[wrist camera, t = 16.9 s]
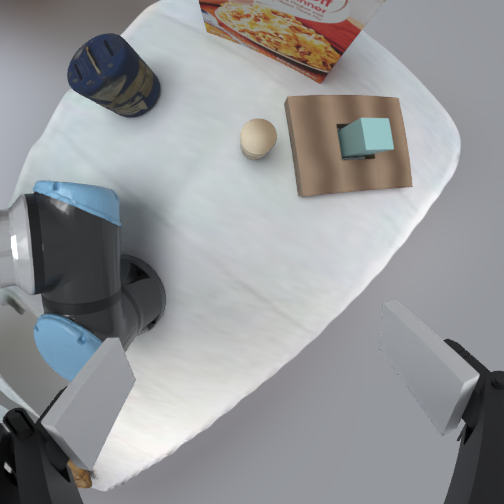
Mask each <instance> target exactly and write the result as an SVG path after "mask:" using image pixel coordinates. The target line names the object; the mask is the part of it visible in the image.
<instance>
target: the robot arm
mask: <svg viewBox="0 0 504 504" xmlns="http://www.w3.org/2000/svg"><path fill="white" fill-rule="evenodd" d="M33 191H34V193H33V194H21V195H20V196H19V197H18V198H17V200H16V201H15V202H14V203H13V205H12V206H11V207H10V208H9V209H4V210H0V288H4V287H9V286H14V285H16V286H19V287H20V288H21V289H23V290H24V291H25V292H26V293H28V294H29V295H36V294H40V293H41V296H42V302H43V307H44V314H43V315H41V316H40V317H39V318H38V320H37V322H36V325H35V326H34V339H35V343H36V346H37V348H38V350H39V352H40V354H41V355H42V357H43V358H44V360H45V361H46V362H47V363H48V365H49V366H51V368H53V369H54V370H55V371H56V372H57V373H58V374H59V375H61V376H62V377H63V378H65V379H67V380H68V381H70V382H71V383H70V384H69V385H68V386H66V387H65V388H64V389H63V390H61V391H60V392H59V393H58V394H57V395H56V397H55V398H54V400H53V401H52V402H51V403H50V406H48V407H47V409H46V410H45V411H44V412H43V414H42V415H41V416H40V418H39V419H38V420H37V422H36V423H34V422H33V421H32V419H31V418H30V416H29V415H28V413H27V412H26V410H24V409H23V408H14V409H12V410H10V411H9V412H7V413H6V415H5V416H4V418H3V422H4V424H5V425H6V427H7V428H8V429H9V431H10V432H8V431H7V430H6V429H5V427H4V426H3V425H2V424H1V423H0V504H83V502H82V499H81V497H80V494H79V491H78V489H77V486H76V483H75V480H74V477H73V474H72V471H71V468H70V467H69V465H68V464H67V463H68V461H69V459H70V460H71V461H72V462H73V463H74V465H75V466H76V467H77V468H81V469H84V470H87V471H92V469H93V466H94V464H95V462H96V460H97V458H98V456H99V453H100V451H101V449H102V447H103V445H104V443H105V441H106V439H107V437H108V435H109V433H110V430H111V428H112V426H113V424H114V422H115V420H116V418H117V416H118V414H119V412H120V410H121V408H122V406H123V404H124V402H125V400H126V398H127V396H128V394H129V393H130V391H131V389H132V387H133V385H134V383H135V381H136V379H135V377H134V374H133V372H132V370H131V367H130V365H129V362H128V360H127V357H126V355H125V352H126V350H127V349H128V347H129V346H130V344H131V343H132V342H133V340H134V338H135V337H136V336H138V335H140V334H143V333H145V332H147V331H149V330H150V329H152V328H153V327H154V326H155V325H156V324H157V322H158V321H159V319H160V318H161V316H162V314H163V312H164V308H165V291H164V287H163V285H162V282H161V280H160V278H159V277H158V275H157V274H156V272H155V271H154V270H153V269H152V268H151V267H150V266H149V265H148V264H146V263H145V262H144V261H142V260H140V259H138V258H135V257H132V256H127V255H120V227H121V222H120V202H119V197H118V195H117V194H116V193H115V192H114V191H113V190H112V189H109V188H105V187H99V186H93V185H86V184H78V183H69V182H55V181H37V182H36V183H35V186H34V188H33ZM379 350H380V351H381V352H382V354H383V355H384V357H385V358H386V359H387V361H388V362H389V363H390V365H391V366H392V367H393V368H394V370H395V371H396V372H397V374H398V375H399V377H400V378H401V380H402V381H403V382H404V384H405V385H406V386H407V388H408V389H409V391H410V392H411V393H412V395H413V396H414V398H415V399H416V400H417V402H418V403H419V405H420V406H421V408H422V409H423V410H424V412H425V413H426V415H427V416H428V418H429V419H430V421H431V422H432V423H433V425H434V426H435V428H436V429H437V431H438V432H439V434H440V435H441V436H443V435H445V434H447V433H449V432H450V431H452V430H454V429H456V428H457V426H458V424H459V422H460V420H461V418H462V419H463V420H464V421H465V423H466V424H465V426H464V427H463V429H462V431H461V433H460V435H459V437H458V439H457V441H459V440H460V439H461V437H462V439H461V443H460V448H459V453H458V457H457V462H456V465H455V469H454V473H453V476H452V480H451V484H450V487H449V490H448V493H447V496H446V499H445V502H444V504H504V371H494V372H490V371H489V370H488V369H487V368H486V367H485V366H484V365H482V364H481V363H480V362H479V361H478V360H477V359H475V357H473V356H472V355H470V353H469V352H468V351H467V350H465V349H464V348H463V347H462V346H461V345H460V344H458V343H457V342H454V341H452V340H450V339H446V340H442V339H441V338H440V337H438V336H437V335H436V334H435V333H434V332H433V331H432V330H431V329H429V328H428V327H427V326H426V325H425V324H424V323H422V322H421V321H420V320H419V319H418V318H416V317H415V316H414V315H413V314H412V313H411V312H409V311H408V310H407V309H406V308H405V307H404V306H402V305H401V304H400V303H399V302H397V301H396V300H394V301H389V302H385V303H383V304H382V323H381V338H380V348H379ZM5 463H6V464H7V465H8V466H9V467H10V468H11V472H10V473H9V472H8V471H7V470H6V469H5V468H4V466H5Z"/></svg>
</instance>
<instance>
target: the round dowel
mask: <svg viewBox="0 0 504 504" xmlns="http://www.w3.org/2000/svg"><path fill="white" fill-rule="evenodd" d="M240 138H241V150H242V153H243V154H244V155H245V156H246V157H247V158H249V159H252V160H258V159H261V158H262V157H264V156H265V155H266V154H267V153H268V152H269V150H270V149H271V148H272V147H273V146H274V145H275V143H276V140H277V133H276V129H275V128H274V126H273V125H272V124H271V123H270V122H269V121H267V120H264V119H253V120H250V121H248V122H247V123H246V124H245V125H244V126H243V128H242V130H241V134H240Z"/></svg>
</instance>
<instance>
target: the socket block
mask: <svg viewBox="0 0 504 504" xmlns="http://www.w3.org/2000/svg"><path fill="white" fill-rule="evenodd" d="M284 105H285V111H286V117H287V123H288V129H289V135H290V141H291V148H292V154H293V161H294V168H295V175H296V183H297V190H298V196H302V197H304V196H313V195H322V194H332V193H342V192H352V191H363V190H375V189H388V188H403V187H412V177H411V168H410V160H409V152H408V146H407V139H406V133H405V128H404V122H403V117H402V112H401V108H400V103H399V99H398V98H393V97H380V96H361V95H310V96H290V97H287V99H286V101H285V103H284ZM359 118H389V123H390V128H391V134H392V140H393V146H394V149H393V150H389V151H384V152H380V153H375V154H371V155H367V156H365V159H361V160H343V161H342V158H341V151H340V144H339V138H338V132H337V128H344V127H346V126H347V125H349V124H351V123H352V122H354V121H356V120H358V119H359Z"/></svg>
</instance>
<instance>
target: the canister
mask: <svg viewBox="0 0 504 504" xmlns="http://www.w3.org/2000/svg"><path fill="white" fill-rule="evenodd" d="M67 76H68V82H69V85H70V86H71V88H72V89H73V90H74V91H75V92H77V93H79V94H81V95H82V96H84V97H86V98H88V99H90V100H92V101H94V102H96V103H97V104H99V105H101V106H103V107H105V108H107V109H109V110H111V111H113V112H115V113H117V114H119V115H121V116H124V117H134V116H138V115H140V114H143V113H144V112H146V111H147V110H148V109H149V108H151V106H152V105H153V104H154V103H155V101H156V99H157V97H158V95H159V90H160V85H159V81H158V78H157V77H156V75H155V74H154V73H153V72H152V70H151V69H150V68H149V67H148V66H147V64H146V63H145V62H144V61H143V60H142V59H141V58H140V56H139V55H138V54H137V53H136V52H135V51H134V49H133V48H132V47H131V46H130V45H129V44H128V43H127V42H126V41H125V40H124V39H123V38H122V37H121V36H119V35H116V34H103V35H99V36H97V37H94V38H92V39H91V40H89V41H88V42H86V43H85V44H84V45H83V46H82V47H81V48H80V49H79V50H78V51H77V52H76V54H75V55H74V56H73V58H72V60H71V62H70V65H69V68H68V75H67Z"/></svg>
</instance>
